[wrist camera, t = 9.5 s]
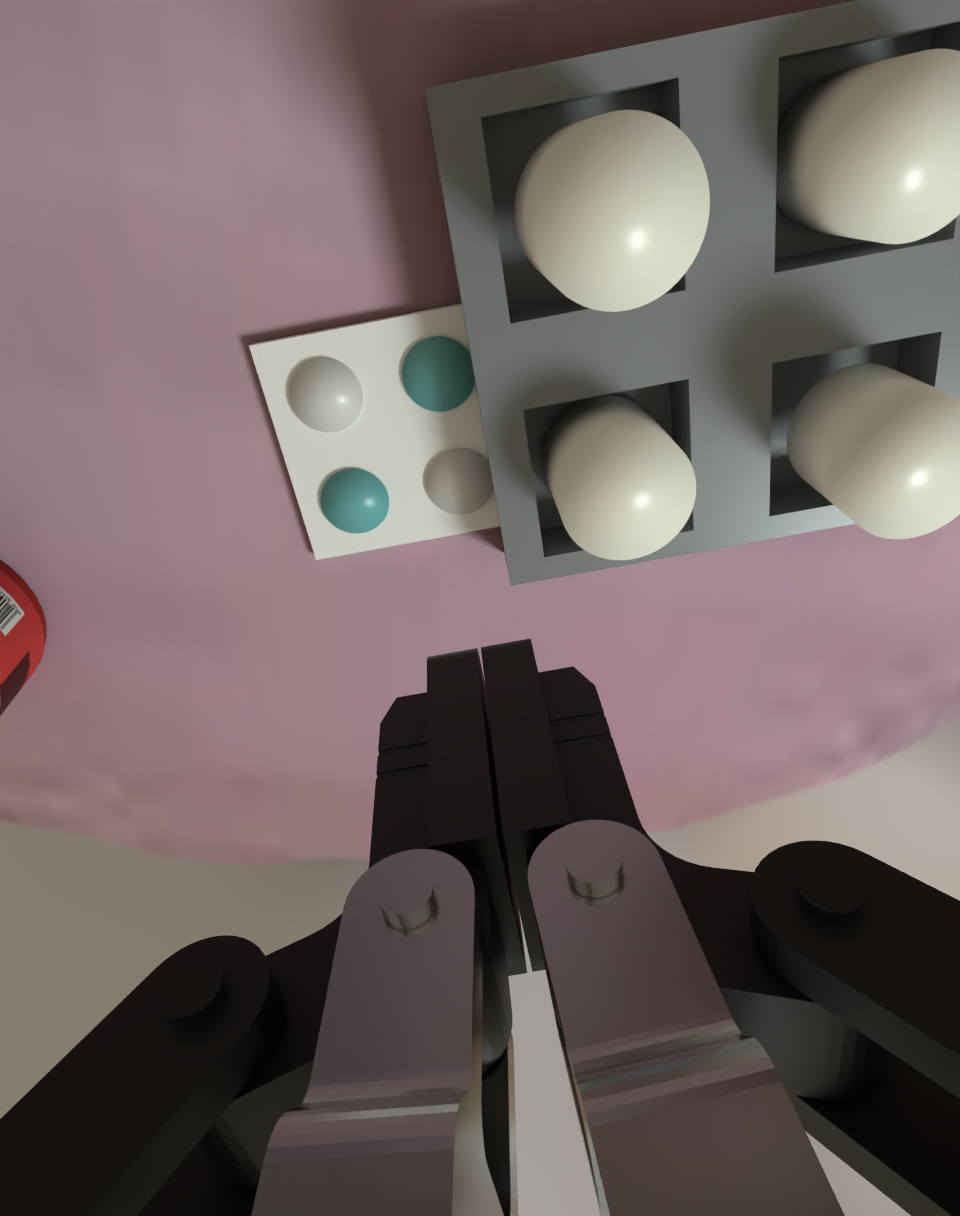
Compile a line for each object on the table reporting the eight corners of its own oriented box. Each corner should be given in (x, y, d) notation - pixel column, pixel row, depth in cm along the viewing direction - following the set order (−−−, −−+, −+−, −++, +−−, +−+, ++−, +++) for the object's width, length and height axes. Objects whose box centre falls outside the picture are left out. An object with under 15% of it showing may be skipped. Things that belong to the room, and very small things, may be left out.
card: (317, 556, 33) (315, 561, 33) (251, 343, 29) (248, 346, 28) (521, 518, 33) (523, 523, 32) (487, 298, 28) (488, 300, 28)
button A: (525, 301, 26) (543, 326, 22) (503, 136, 23) (519, 130, 19) (667, 274, 26) (711, 294, 22) (659, 105, 23) (708, 92, 19)
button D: (785, 499, 30) (839, 550, 26) (788, 376, 28) (850, 412, 24) (908, 477, 30) (982, 525, 26) (922, 351, 27) (1007, 383, 23)
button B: (769, 244, 27) (827, 258, 23) (771, 83, 25) (838, 68, 21) (904, 218, 27) (987, 227, 23) (920, 54, 25) (1016, 31, 21)
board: (504, 553, 34) (511, 585, 31) (424, 95, 25) (424, 87, 23) (914, 478, 33) (956, 505, 30) (975, -16, 25) (1040, -38, 22)
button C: (550, 520, 32) (567, 571, 28) (534, 408, 30) (551, 445, 26) (664, 499, 32) (698, 547, 28) (657, 384, 29) (694, 418, 25)
